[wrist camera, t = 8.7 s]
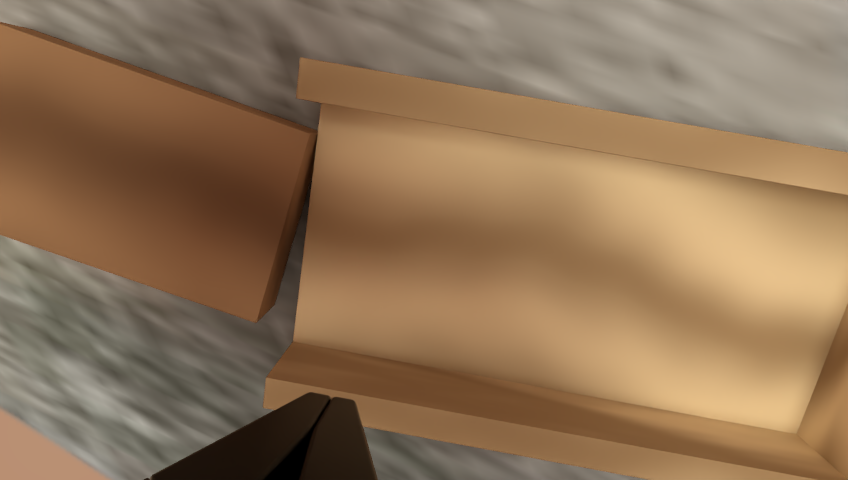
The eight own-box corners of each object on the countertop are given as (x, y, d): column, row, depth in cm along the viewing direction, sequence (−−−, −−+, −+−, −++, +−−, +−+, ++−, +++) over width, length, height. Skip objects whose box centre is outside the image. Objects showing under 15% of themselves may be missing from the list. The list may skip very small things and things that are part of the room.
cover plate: (278, 300, 21) (256, 322, 19) (15, 209, 21) (-42, 220, 19) (327, 133, 20) (309, 134, 17) (41, 31, 19) (-18, 17, 17)
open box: (799, 449, 21) (877, 522, 17) (297, 356, 21) (262, 407, 18) (908, 172, 18) (1031, 184, 14) (332, 72, 19) (300, 57, 15)
